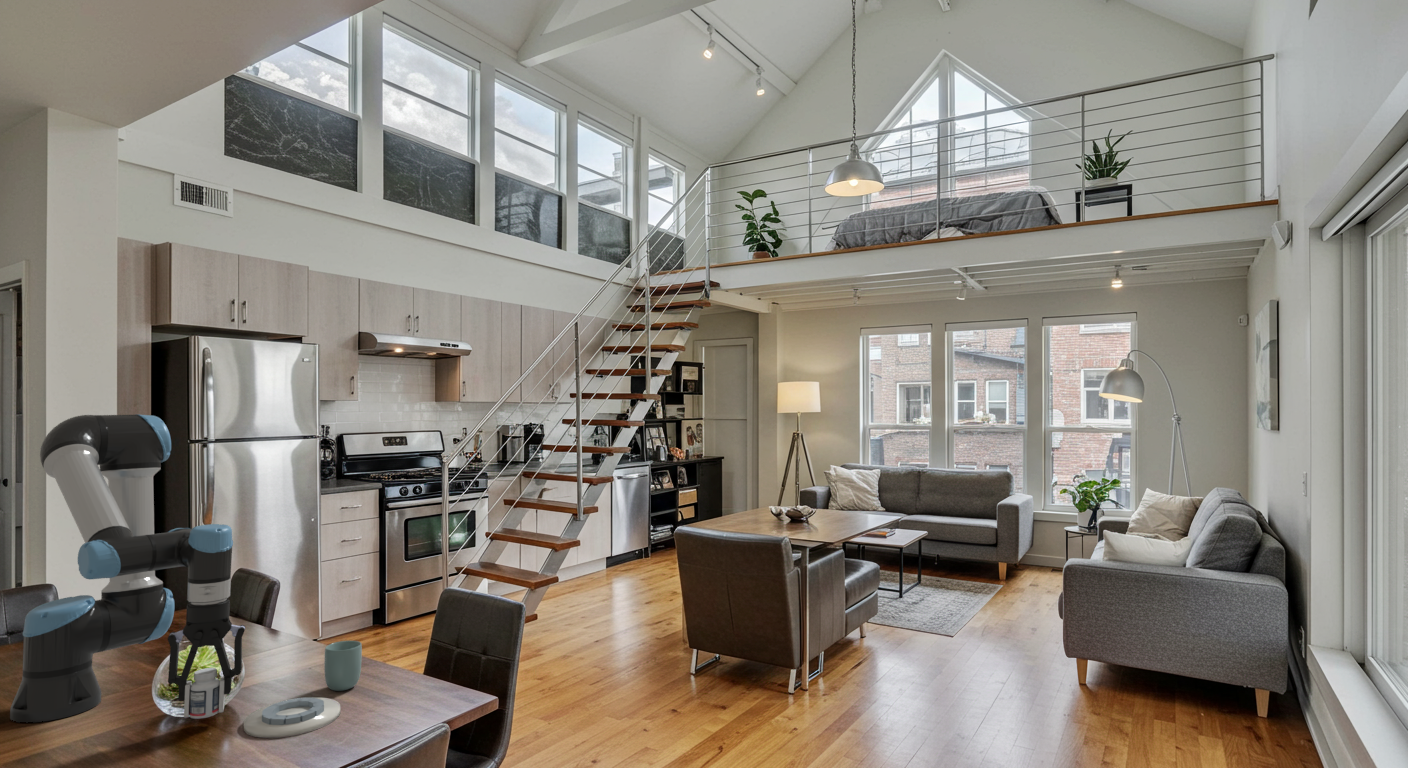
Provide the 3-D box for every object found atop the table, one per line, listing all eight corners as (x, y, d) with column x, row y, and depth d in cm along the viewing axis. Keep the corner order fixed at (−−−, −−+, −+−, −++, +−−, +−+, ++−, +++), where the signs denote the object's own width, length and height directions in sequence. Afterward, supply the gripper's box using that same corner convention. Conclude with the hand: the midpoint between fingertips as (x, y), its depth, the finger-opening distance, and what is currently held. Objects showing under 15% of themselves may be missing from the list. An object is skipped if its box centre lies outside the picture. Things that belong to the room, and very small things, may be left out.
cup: (346, 695, 172) (347, 651, 173) (316, 692, 174) (317, 649, 174) (367, 683, 180) (368, 641, 180) (339, 681, 182) (340, 639, 182)
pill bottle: (214, 706, 159) (216, 664, 159) (223, 713, 156) (225, 670, 156) (185, 714, 155) (187, 671, 155) (193, 721, 152) (195, 677, 152)
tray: (240, 745, 147) (240, 732, 147) (246, 712, 163) (247, 700, 163) (341, 727, 155) (342, 715, 155) (338, 697, 171) (339, 686, 171)
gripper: (151, 609, 148) (146, 727, 148) (258, 600, 157) (254, 711, 157) (158, 600, 155) (153, 713, 155) (260, 591, 164) (256, 698, 163)
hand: (204, 712), depth 156 cm, fingers closed on pill bottle, 5 cm apart
